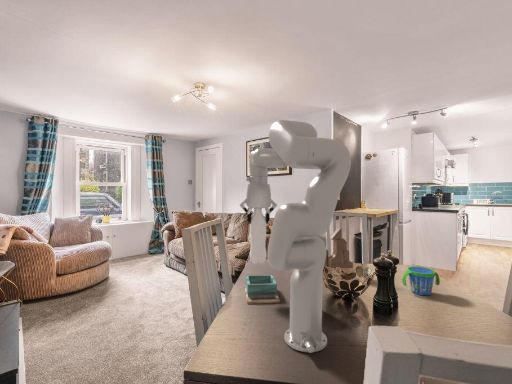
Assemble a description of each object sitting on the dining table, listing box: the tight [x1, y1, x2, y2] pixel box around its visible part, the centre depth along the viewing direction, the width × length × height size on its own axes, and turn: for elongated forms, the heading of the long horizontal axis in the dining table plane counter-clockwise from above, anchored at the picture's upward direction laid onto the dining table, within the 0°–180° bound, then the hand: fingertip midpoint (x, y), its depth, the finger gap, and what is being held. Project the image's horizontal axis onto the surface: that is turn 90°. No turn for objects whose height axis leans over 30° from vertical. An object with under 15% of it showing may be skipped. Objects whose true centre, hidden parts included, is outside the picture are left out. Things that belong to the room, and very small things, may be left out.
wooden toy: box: [324, 226, 354, 269], centre depth 144 cm, size 16×7×25 cm, turn 109°
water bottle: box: [249, 208, 267, 265], centre depth 114 cm, size 7×7×25 cm
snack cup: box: [401, 266, 441, 296], centre depth 118 cm, size 16×10×10 cm
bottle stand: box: [244, 274, 281, 305], centre depth 115 cm, size 16×13×6 cm
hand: (258, 222), depth 114 cm, fingers closed on water bottle, 6 cm apart
